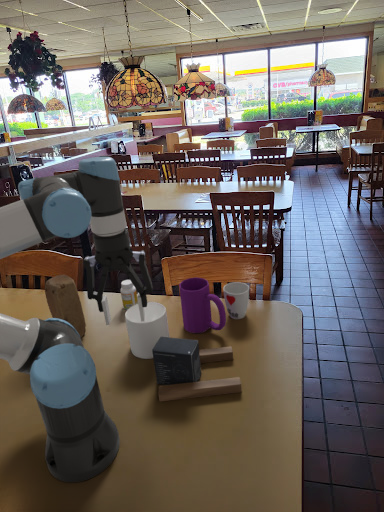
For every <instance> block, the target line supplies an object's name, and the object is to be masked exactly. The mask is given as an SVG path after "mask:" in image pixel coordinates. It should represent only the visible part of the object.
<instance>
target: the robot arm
mask: <svg viewBox="0 0 384 512" xmlns="http://www.w3.org/2000/svg"><path fill="white" fill-rule="evenodd" d="M77 166H78V170H75V171H72V172H69V173H67V172H66V173H62V174H61V173H60V174H54V175H49V176H48V175H47V176H41V177H37V176H36V177H33V178H30V179H26V180H22V181H20V182H19V183H18V186H17V188H18V193H19V198H20V200H17V201H14V202H12V203H8V204H7V205H3V206H0V260H1V259H3V258H8V257H9V256H11V255H14V254H16V253H18V252H21V251H25V250H26V249H29V248H31V247H33V246H37V245H38V244H42V243H43V242H46V241H48V240H51V239H54V238H57V237H60V238H65V239H70V238H71V239H73V238H75V237H78V236H80V235H82V234H83V233H85V231H87V229H88V227H89V225H90V229H91V232H92V233H93V234H92V240H93V244H94V249H95V255H92V256H89V255H86V256H85V257H84V260H83V261H82V264H83V267H84V268H85V271H86V294H87V295H86V296H87V299H88V300H95V301H96V303H97V308H98V311H99V313H103V315H104V322H105V325H106V326H110V324H111V320H112V317H111V313H110V312H111V311H110V307H109V303H108V296H107V295H104V291H105V288H106V282H107V278H108V277H109V276H108V275H109V273H111V272H115V271H119V272H121V271H123V273H124V274H125V275H126V276H127V277H128V278H129V279H128V280H131V282H132V283H133V286H135V288H136V292H137V299H138V305H139V311H140V318H141V321H144V319H145V313H144V307H147V302H148V296H147V295H148V294H152V293H153V289H154V285H153V282H152V279H151V278H152V277H151V276H150V272H149V269H148V266H147V262H146V259H145V258H146V251H145V250H143V249H142V250H140V251H134V250H133V249H132V248H131V243H130V238H129V232H128V229H127V219H126V214H125V208H124V204H123V203H124V201H123V196H122V189H121V182H120V180H121V178H120V176H119V172H118V167H117V163H116V160H115V159H114V158H112V157H111V156H96V157H95V156H93V157H88V158H84V159H80V160H79V162H78V165H77ZM133 258H134V259H135V261H136V262H137V263H138V266H139V269H140V272H141V273H140V274H141V276H142V280H143V282H144V283H142V281H141V279H140V278H139V276H138V274H137V273H136V271H135V270H134V268H133V267H132V264H131V263H130V262H131V260H132V259H133ZM96 262H97V263H98V264H99V265H100V266H101V267H102V272H101V276H100V280H99V284H98V289H97V291H95V289H96V288H95V271H94V270H95V264H96ZM144 285H145V286H144ZM81 338H82V337H81ZM81 338H80V335H79V334H78V332H77V331H76V330H75V329H74V327H73V326H72V325H71V324H70V323H68V322H67V321H65V320H62V319H58V318H53V317H48V318H47V319H41V318H38V317H32V318H29V319H27V320H22V319H19V318H16V317H13V316H10V315H7V314H5V313H1V312H0V359H1V360H4V361H7V362H8V365H9V366H10V369H11V370H12V371H14V372H18V373H23V374H26V375H29V384H30V388H31V390H32V391H31V392H32V394H33V395H34V397H35V400H36V404H37V406H38V408H39V412H40V416H41V418H42V421H43V424H44V428H45V431H46V440H45V441H46V442H45V450H44V455H45V456H44V457H45V458H44V459H45V462H46V465H47V469H48V471H49V473H50V474H51V476H53V477H54V479H57V480H58V481H62V482H65V483H80V482H83V481H87V480H89V479H92V478H93V477H96V476H98V475H99V474H101V473H102V472H104V471H105V469H107V468H108V467H109V466H110V465H111V463H113V461H114V460H115V458H116V457H117V454H118V452H119V449H120V445H121V444H120V443H121V442H120V441H121V440H120V434H119V431H118V428H117V425H116V423H115V421H113V419H112V418H111V417H110V415H109V414H108V413H107V412H106V410H105V407H104V403H103V399H102V393H101V389H100V386H99V381H98V378H97V377H98V376H97V369H96V365H95V362H94V359H93V357H92V355H91V353H90V352H89V350H87V349H86V347H84V344H83V341H82V339H81Z"/></svg>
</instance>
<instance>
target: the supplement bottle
mask: <svg viewBox="0 0 384 512" xmlns="http://www.w3.org/2000/svg"><path fill="white" fill-rule="evenodd" d="M120 284H121V285H120V286H121V288H120V296H121V301H122V307H123V309H124V310H126V311H127V310H128V309H129V308H130V307H132V306H134V305H136V304H138V299H137V296H138V291H137V290H136V288H135V286H134V285H133V283H132V282H131V280H130V279H125V280H122V281H121V283H120Z"/></svg>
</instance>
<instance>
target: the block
mask: <svg viewBox="0 0 384 512" xmlns="http://www.w3.org/2000/svg"><path fill="white" fill-rule="evenodd" d="M77 288H78V287H77V285H76V283H75V280H74V278H71V277H70V276H68V275H66V274H58V275H56V276H53V277H51V278H49V279H48V280H47V281H46V282H45V284H44V294H45V295H44V296H45V299H46V304H47V307H48V309H49V312H50V315H51V316H52V317H51V318H58V319H62V320H65V321H67V322H68V323H70V324H71V325H72V326H73V327H74V329H75V330H76V331H77V332H78V334H79V335H80V338H83V336H84V335H85V334H86V331H87V329H86V327H87V324H86V319H85V315H84V310H83V305H82V302H81V298H80V296H79V291H78V289H77Z"/></svg>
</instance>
